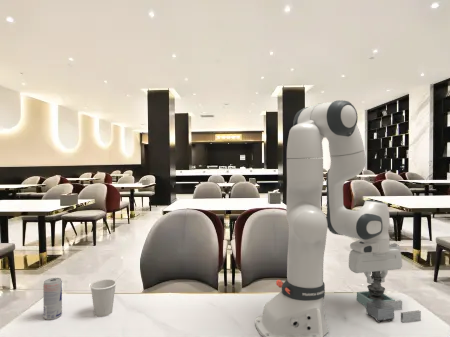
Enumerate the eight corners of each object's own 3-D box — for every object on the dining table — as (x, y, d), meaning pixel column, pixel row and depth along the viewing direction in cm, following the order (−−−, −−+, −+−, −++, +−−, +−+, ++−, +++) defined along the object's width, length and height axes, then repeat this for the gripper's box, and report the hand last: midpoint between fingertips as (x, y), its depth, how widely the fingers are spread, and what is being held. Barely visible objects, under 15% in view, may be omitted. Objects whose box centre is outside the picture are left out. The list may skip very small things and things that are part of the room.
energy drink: (62, 311, 107) (62, 276, 107) (60, 318, 102) (60, 282, 102) (45, 314, 105) (44, 278, 105) (42, 321, 100) (42, 284, 100)
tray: (373, 311, 108) (373, 302, 108) (356, 300, 117) (356, 292, 117) (395, 308, 110) (395, 300, 110) (377, 298, 119) (377, 290, 119)
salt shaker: (387, 301, 110) (387, 267, 110) (369, 300, 111) (369, 266, 111) (382, 294, 116) (382, 262, 116) (365, 293, 117) (365, 261, 117)
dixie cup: (86, 312, 106) (86, 283, 106) (109, 304, 112) (109, 277, 112) (96, 321, 100) (96, 290, 100) (120, 312, 106) (120, 283, 106)
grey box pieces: (381, 325, 99) (381, 311, 99) (363, 312, 107) (363, 299, 107) (420, 320, 102) (420, 306, 102) (400, 308, 111) (400, 295, 111)
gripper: (393, 241, 119) (393, 277, 119) (346, 244, 114) (346, 281, 114) (406, 245, 113) (406, 283, 113) (357, 248, 108) (357, 288, 108)
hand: (375, 282), depth 114 cm, fingers closed on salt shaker, 3 cm apart
